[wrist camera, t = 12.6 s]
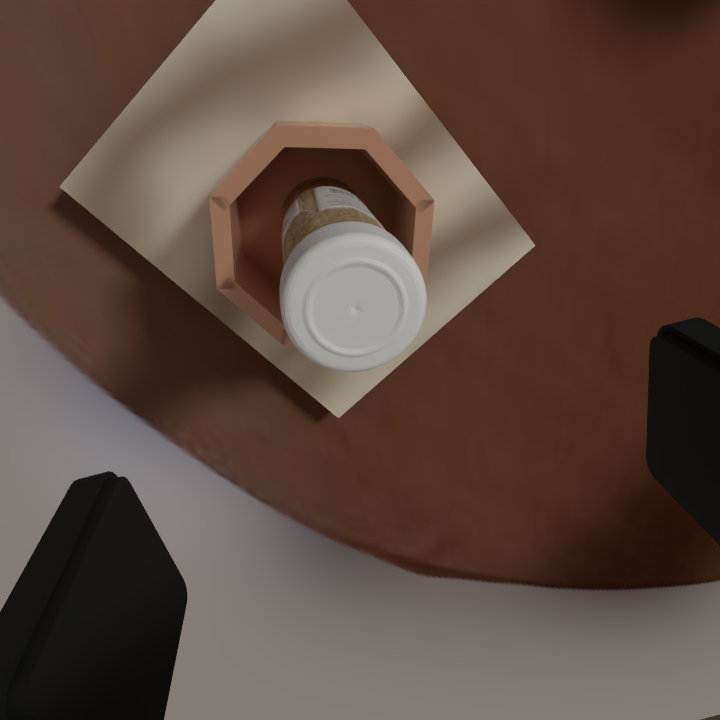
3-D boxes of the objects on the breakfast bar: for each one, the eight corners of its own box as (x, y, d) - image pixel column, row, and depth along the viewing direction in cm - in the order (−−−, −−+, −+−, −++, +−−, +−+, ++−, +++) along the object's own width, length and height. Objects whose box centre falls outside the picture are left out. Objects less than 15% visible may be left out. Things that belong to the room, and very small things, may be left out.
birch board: (524, 239, 32) (535, 245, 31) (336, 406, 36) (338, 418, 34) (284, -72, 24) (284, -82, 23) (70, 182, 28) (59, 186, 26)
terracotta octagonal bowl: (439, 220, 30) (472, 245, 24) (316, 334, 32) (323, 380, 26) (316, 75, 26) (326, 70, 21) (186, 217, 28) (164, 244, 23)
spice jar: (261, 216, 27) (246, 304, 15) (328, 155, 27) (367, 199, 15) (319, 279, 29) (347, 403, 17) (384, 225, 28) (459, 315, 16)
